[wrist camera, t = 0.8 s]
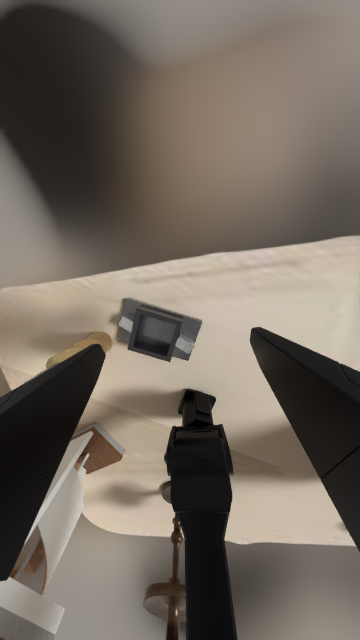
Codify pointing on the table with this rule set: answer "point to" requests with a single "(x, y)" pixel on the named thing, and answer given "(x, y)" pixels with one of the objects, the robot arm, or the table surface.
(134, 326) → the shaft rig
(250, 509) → the table surface
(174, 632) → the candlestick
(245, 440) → the table surface
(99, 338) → the gold perfume bottle
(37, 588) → the white banded pillar
